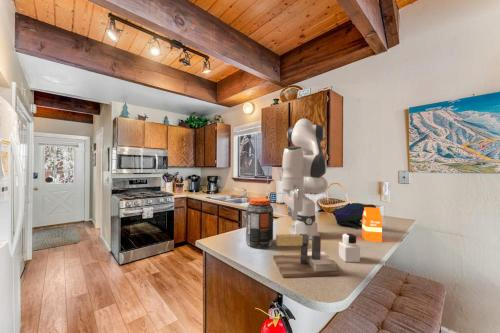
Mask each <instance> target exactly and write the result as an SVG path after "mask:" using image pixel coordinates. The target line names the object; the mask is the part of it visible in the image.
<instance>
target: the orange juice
mask: <svg viewBox="0 0 500 333" xmlns="http://www.w3.org/2000/svg"><path fill="white" fill-rule="evenodd" d="M361 225H362V227H361V229H362V232H361V234H362V236H361V237H362V238H363V239H364V240H365V242H366V241H367V242H378V243H382V240H383V238H382V237H383V234H382V233H383V216H382V213H381V208H380V207H376V208H370V207H365V208H364V212H363V219H362V223H361Z"/></svg>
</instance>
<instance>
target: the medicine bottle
mask: <svg viewBox="0 0 500 333" xmlns="http://www.w3.org/2000/svg"><path fill="white" fill-rule="evenodd" d="M338 257H340V259H342V260H343V262H345V263H361V247H360V246H359V245H357V236H356V235H354V234H352V233H348V232H347V233H343V234H342V242H341V241H340V242H338Z"/></svg>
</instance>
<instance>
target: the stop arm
mask: <svg viewBox="0 0 500 333" xmlns="http://www.w3.org/2000/svg"><path fill="white" fill-rule="evenodd" d="M275 239H276V240H275V245H276V246H278V247H285V246H287V247H289V246H291V247H293V246H295V247H296V246H301V245H303V246H309V245H310V242H309V241H310V240H309V235H307V234H284V233H283V234H276V235H275Z"/></svg>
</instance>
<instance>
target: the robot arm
mask: <svg viewBox="0 0 500 333" xmlns="http://www.w3.org/2000/svg"><path fill="white" fill-rule="evenodd" d="M325 130H326V129H325V128H324V126H323V125H321V124H312V122H311V120H309V119H308V118H300V119H299V120H297V121H296V123H295V124H294V125H292V126H289V127H288V129H287V132H286V138H287V141H288V142H289V143H291V144H293V145H294V146H287V147H285V148H284V149H283V155H282V161H281V170H282V176H281V189H282V190H283V191H282V192H283V194H282V196H283V203H284V204H285V205H286V206H287V207H286V208H287V216H288V217H291V220H292V221H293V222H292V224H290V227H291V228H289V229H288V230H289V233H290V234H307V235H309V241H311V240H312V235H319V236H320V237H321V235H320V233H319V232H318V231H319V230H318V223H317V222H316V214H315V213H316V211H315V210H316V205H315V202H314V200H312V199H311V198H309V197H307V196H306V195H305V194H323V193H325V192H326V190H328V182H327V179H326V178H325V176H324V175H325V174H326V172H327V169H328V168H327V161H326V158H325V156H324V152H323V148H322V144H321V142H322V141H323V140H324V138H325V134H326V131H325Z"/></svg>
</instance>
